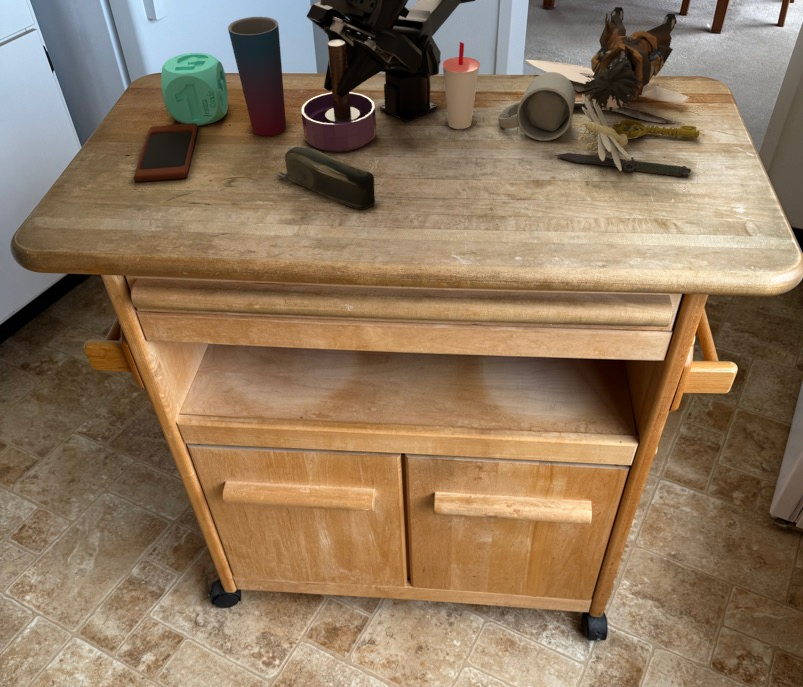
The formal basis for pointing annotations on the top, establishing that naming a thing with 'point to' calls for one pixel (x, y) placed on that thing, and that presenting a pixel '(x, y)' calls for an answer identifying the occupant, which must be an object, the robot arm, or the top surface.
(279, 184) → the top surface
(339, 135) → the bowl
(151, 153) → the smartphone
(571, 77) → the knife
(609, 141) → the toy
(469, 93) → the cup
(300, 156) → the dark green rounded bar
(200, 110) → the decorative dice
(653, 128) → the key
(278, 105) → the cup
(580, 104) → the knife
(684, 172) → the knife
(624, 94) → the figurine
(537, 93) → the ceramic mug
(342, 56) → the brown handled tamper
